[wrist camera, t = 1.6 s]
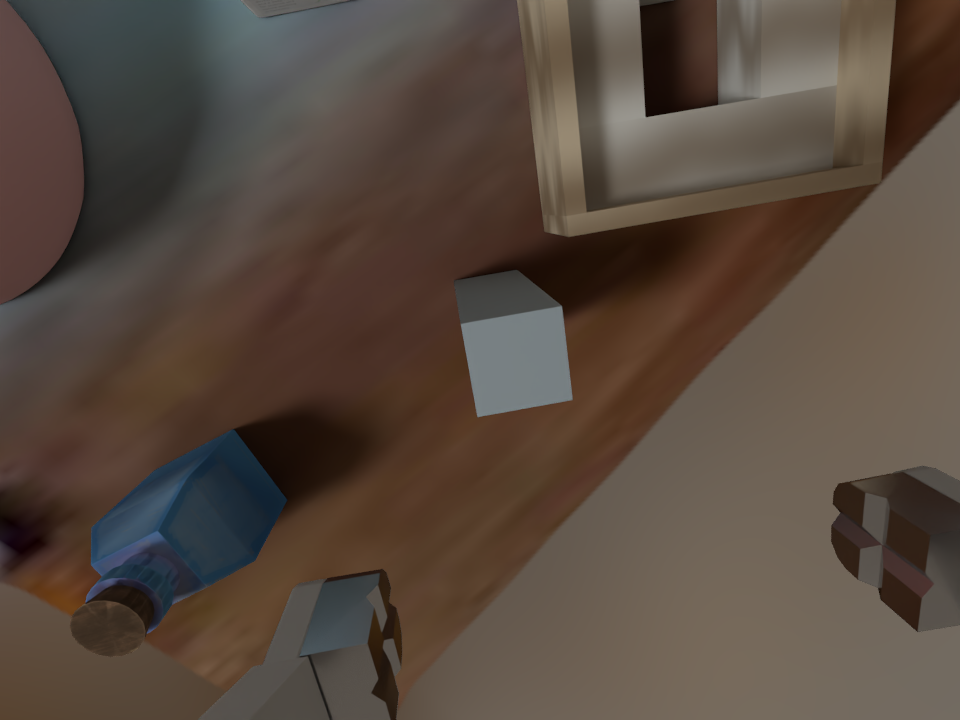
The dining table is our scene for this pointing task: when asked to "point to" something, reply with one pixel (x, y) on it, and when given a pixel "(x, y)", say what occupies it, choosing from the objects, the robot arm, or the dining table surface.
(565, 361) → the peg
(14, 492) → the dining table surface
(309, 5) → the syrup box
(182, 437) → the dining table surface
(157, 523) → the perfume bottle
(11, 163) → the cake
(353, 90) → the dining table surface
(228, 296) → the dining table surface
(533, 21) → the crate
